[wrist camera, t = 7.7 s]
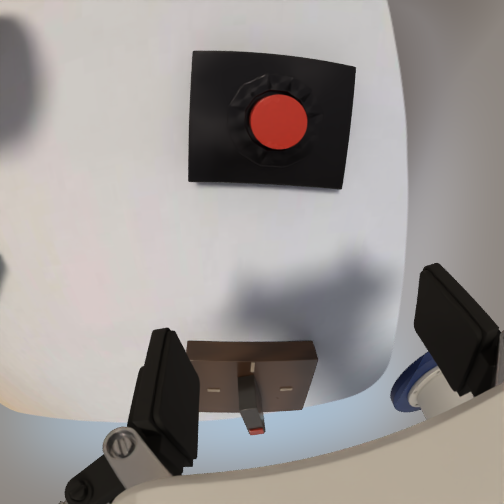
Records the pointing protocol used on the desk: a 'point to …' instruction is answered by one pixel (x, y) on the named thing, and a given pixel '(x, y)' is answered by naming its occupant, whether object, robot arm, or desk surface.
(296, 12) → the desk surface
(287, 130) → the button
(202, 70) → the button block
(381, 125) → the desk surface
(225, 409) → the panel
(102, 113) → the desk surface
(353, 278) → the desk surface
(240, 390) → the handle
